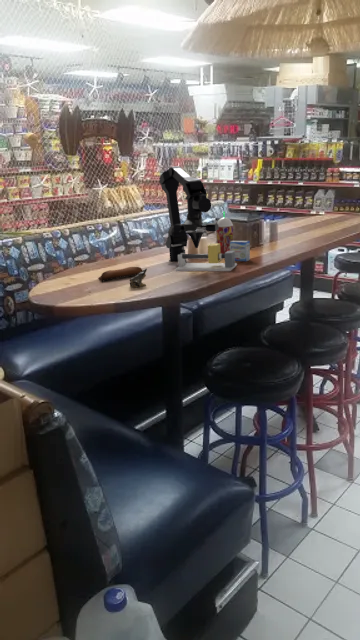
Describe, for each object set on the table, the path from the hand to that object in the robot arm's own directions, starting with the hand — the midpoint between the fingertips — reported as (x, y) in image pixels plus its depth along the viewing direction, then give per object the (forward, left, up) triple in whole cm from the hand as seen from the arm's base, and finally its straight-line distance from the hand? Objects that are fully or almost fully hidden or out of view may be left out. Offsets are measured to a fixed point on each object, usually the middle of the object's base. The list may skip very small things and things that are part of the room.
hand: (196, 247), depth 219 cm
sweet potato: (-28, -19, -9) cm, 35 cm away
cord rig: (+4, 0, -9) cm, 9 cm away
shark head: (-12, -33, -9) cm, 36 cm away
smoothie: (+4, +32, -9) cm, 34 cm away
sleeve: (+8, 0, -6) cm, 10 cm away
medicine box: (+15, +16, -9) cm, 24 cm away
